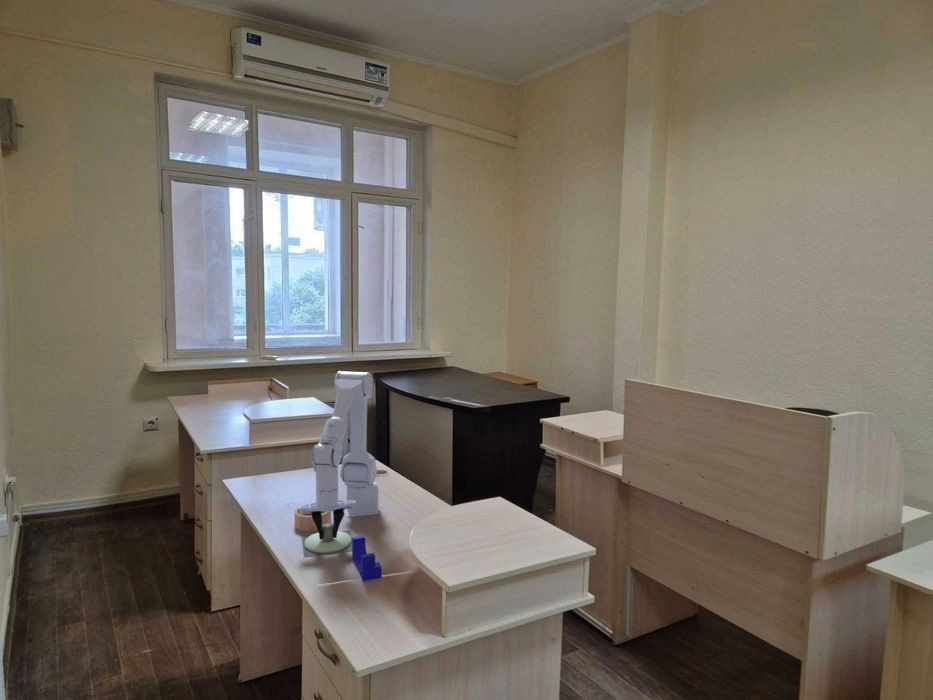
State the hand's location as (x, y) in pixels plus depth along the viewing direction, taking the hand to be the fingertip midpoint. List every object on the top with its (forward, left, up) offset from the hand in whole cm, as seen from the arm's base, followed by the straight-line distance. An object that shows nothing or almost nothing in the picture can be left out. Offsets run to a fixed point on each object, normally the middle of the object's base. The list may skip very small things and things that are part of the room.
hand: (327, 537), depth 155 cm
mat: (0, 0, -2) cm, 2 cm away
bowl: (+3, -14, -2) cm, 14 cm away
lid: (0, 0, -2) cm, 2 cm away
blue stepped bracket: (-8, +16, -2) cm, 18 cm away
